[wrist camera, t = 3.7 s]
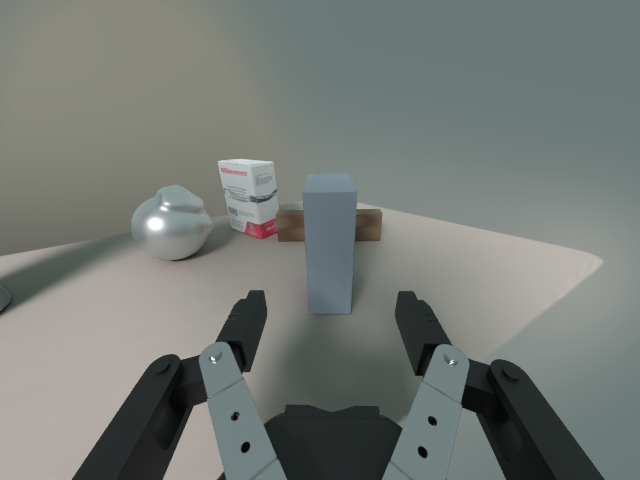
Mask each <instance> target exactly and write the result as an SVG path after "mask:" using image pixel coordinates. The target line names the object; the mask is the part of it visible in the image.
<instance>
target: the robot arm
mask: <svg viewBox="0 0 640 480" xmlns="http://www.w3.org/2000/svg"><path fill="white" fill-rule="evenodd" d="M10 300H11V295H10V293H9V292H8V291H7V290H6V289H5V287H4V286H3V285H2V284H1V282H0V311H1V310H2V309H3V308H4V307H5V306H6V305H7V304H8V303H9V302H10ZM395 317H396V322H397V325H398V328H399V331H400V333H401V336H402V339H403V342H404V345H405V348H406V351H407V353H408V356H409V359H410V362H411V365H412V368H413V371H414V373H415V376H423V378H424V379H423V380H422V382H421V385H420V387H419V390H418V392H417V395H416V397H415V400H414V402H413V405H412V407H411V410H410V412H409V415H408V417H407V420H406V422H405V425H404V427H403V428H401V427H400V426H399V425H398V424H397V423H395V422H394V421H392V420H391V419H389V418H387V417H385V416H382V415H380V414H379V409H378V407H376V406H354V407H350V408H347V409H343V410H340V411H336V412H328V411H325V410H322V409H319V408H316V407H313V406H310V405H286V410H285V413H281V414H279V415H277V416H275V417H273V418H272V419H270V420H269V421H267V422H266V423H265V424H264V425H263V423H262V420H261V418H260V415H259V413H258V411H257V408H256V406H255V403H254V401H253V399H252V396H251V394H250V391H249V389H248V386H247V384H246V382H245V379H244V378H243V377H242V373H243V372H250V370H251V367H252V364H253V361H254V357H255V354H256V351H257V348H258V345H259V341H260V338H261V335H262V332H263V329H264V325H265V322H266V319H267V306H266V301H265V295H264V291H263V290H250V291H249V293H248V296H247V298H246V299H240V300H239V301H238V302H237V303H236V304H235V305H234V307H233V309H232V311H231V313H230V314H229V316H228V319H227V320H226V322H225V324H224V326H223V328H222V330H221V332H220V334H219V336H218V338H217V340H216V342H215V343H213V344H211V345H209V346H208V347H206V348H205V349H204V350H203V351H202V353H201V354H200V355H198V356H195V357H191V358H187V359H184V360H180V358H179V357H178V356H177V355H174V354H169V355H165V356H162V357H160V358H158V359H157V360H155V361H154V362H153V363H151V364H150V365H149V367H148V368H147V369H146V371H145V372H144V374H143V375H142V377H141V378H140V380H139V381H138V383H137V384H136V385H135V387H134V388H133V390H132V391H131V393H130V394H129V396H128V397H127V399H126V400H125V402H124V403H123V405H122V406H121V408H120V409H119V411H118V412H117V414H116V415H115V416H114V418H113V419H112V421H111V422H110V424H109V425H108V427H107V428H106V430H105V431H104V433H103V434H102V436H101V437H100V439H99V440H98V442H97V443H96V445H95V446H94V447H93V449H92V450H91V452H90V453H89V455H88V456H87V458H86V459H85V461H84V462H83V464H82V465H81V467H80V468H79V470H78V471H77V473H76V474H75V476H74V477H73V478H72V480H163V477H164V475H165V473H166V470H167V468H168V466H169V463H170V461H171V458H172V456H173V454H174V451H175V449H176V447H177V444H178V442H179V439H180V437H181V435H182V432H183V430H184V428H185V425H186V423H187V420H188V418H189V416H190V413H191V411H192V409H193V406H194V405H197V404H200V403H203V402H206V401H207V402H208V407H209V411H210V415H211V419H212V423H213V427H214V431H215V435H216V439H217V444H218V448H219V452H220V456H221V460H222V464H223V468H224V472H223V473H222V474H221V475H220V477H219V478H218V479H217V480H446V476H447V472H448V467H449V463H450V459H451V454H452V450H453V445H454V441H455V436H456V432H457V427H458V423H459V418H460V414H461V409H462V408H465V409H468V410H471V411H473V412H475V413H476V415H477V417H478V419H479V421H480V423H481V426H482V428H483V430H484V432H485V434H486V437H487V439H488V441H489V443H490V445H491V447H492V450H493V452H494V454H495V456H496V458H497V460H498V463H499V465H500V467H501V469H502V471H503V474H504V476H505V478H506V480H604V478H603V477H602V476H601V474H600V473H599V472H598V470H597V469H596V467H595V466H594V465H593V463H592V462H591V460H590V459H589V458H588V456H587V455H586V454H585V452H584V451H583V450H582V448H581V447H580V446H579V444H578V443H577V441H576V440H575V439H574V437H573V436H572V435H571V433H570V432H569V431H568V430H567V428H566V427H565V425H564V424H563V422H562V421H561V420H560V418H559V417H558V416H557V414H556V413H555V412H554V410H553V409H552V408H551V406H550V405H549V404H548V402H547V401H546V399H545V398H544V397H543V395H542V394H541V393H540V391H539V390H538V389H537V387H536V386H535V384H534V383H533V382H532V380H531V379H530V378H529V376H528V375H527V374H526V373H525V372H524V371H523V370H522V369H521V368H520V367H518V366H517V365H515V364H513V363H511V362H509V361H506V360H501V359H499V360H498V359H497V360H494V361H492V363H491V365H487V364H484V363H480V362H477V361H473V360H470V359H468V358H467V357H466V355H465V354H464V353H463V352H462V351H461V350H459V349H458V348H456V347H454V346H452V344H451V342H450V341H449V339H448V337H447V335H446V333H445V332H444V330H443V328H442V326H441V325H440V323H439V322H438V319H437V318H436V316H435V314H434V312H433V310H432V309H431V307H430V306H429V305H428V304H427V303H426V302H424V301H423V300H418V299H417V297H416V295H415V293H414V292H413V291H399V293H398V298H397V304H396V309H395Z"/></svg>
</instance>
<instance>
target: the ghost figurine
mask: <svg viewBox="0 0 640 480" xmlns="http://www.w3.org/2000/svg"><path fill="white" fill-rule="evenodd" d="M203 208H204V203H203V201H202V200H201V199H200V198H199V197H197V196H196V195H194V194H192V193H191V192H189V191H188V190H186V189H185V188H183V187H182V186H179V185H172V186H167V187H164V188H162V189H160V190H158V191H157V194H156V196H155V197H153V198H151V199H149V200H147V201H145V202H144V203H142V204H141V205H140V206H139V207H138V208H137V210H136V211H135V213H134V215H133V217H132V220H131V233H132V236H133V239H134V240H135V242H136V244H137V245H138V246H139V247H140V248H141V249H142V250H143V251H144V252H146V253H147V254H149V255H151V256H153V257H156V258H159V259H164V260H178V259H182V258H186V257H188V256H190V255H192V254H194V253H195V252H197V251H198V250H199V249H200V248H201V247H202V245H203V244H204V242H205V240H206V238H207V236H208V234H210V233H211V232H212V231H213V228H214V224H213V220H212V218H211V217H210V216H208V214H207V212H206V211H205V210H204V209H203Z"/></svg>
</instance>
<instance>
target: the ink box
mask: <svg viewBox="0 0 640 480" xmlns="http://www.w3.org/2000/svg"><path fill="white" fill-rule="evenodd" d="M218 166H219V171H220V176H221V180H222V185H223V189H224V194H225V199H226V203H227V208H228V213H229V218H230V223H231V227H232V228H233V229H235V230H238V231H241V232H244V233H247V234H249V235H252V236H255V237H257V238H260V239H264V238H266V237H268V236H270V235H272V234H274V233H276V232H277V224H276V213H277V211H278V210H279V204H278V196H277V187H276V179H275V171H274V163H273V162H268V161H258V160H247V159H235V160H223V161H219V162H218Z"/></svg>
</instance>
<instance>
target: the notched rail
mask: <svg viewBox="0 0 640 480" xmlns="http://www.w3.org/2000/svg"><path fill="white" fill-rule="evenodd" d="M381 223H382V212H381V210H380V209H356V224H355V241H380V232H381ZM276 224H277V232H278V240H279V241H305V227H304V210H278V211H277V213H276Z"/></svg>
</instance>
